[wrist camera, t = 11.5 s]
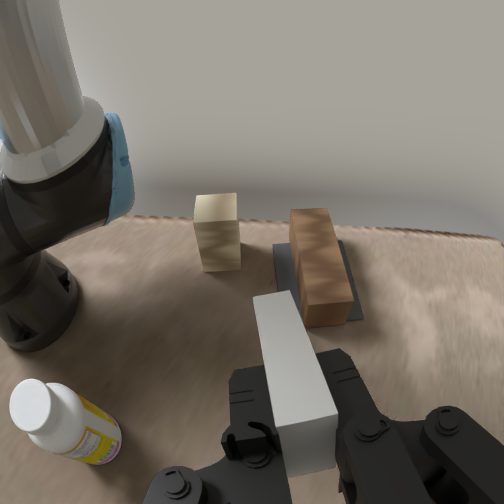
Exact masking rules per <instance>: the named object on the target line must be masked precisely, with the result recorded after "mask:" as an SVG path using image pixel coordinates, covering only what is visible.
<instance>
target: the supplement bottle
mask: <svg viewBox="0 0 504 504" xmlns="http://www.w3.org/2000/svg"><path fill="white" fill-rule="evenodd" d="M10 414H11V417H12V419H13V421H14V423H15V424H16V425H17V427H19V428H20V429H21V430H23V431H25V432H27V433H28V435H29V437H30V438H31V440H32V441H33V442H34V443H35V444H36V445H37V446H39V447H40V448H42V449H44V450H46V451H48V452H51V453H54V454H58V455H61V456H64V457H67V458H71V459H74V460H78V461H81V462H85V463H89V464H95V465H99V464H105V463H107V462H109V461H111V460H112V459H113V458H114V457H115V456H116V455H117V454H118V452H119V450H120V447H121V442H122V436H121V431H120V428H119V426H118V424H117V422H116V421H115V420H114V418H113V417H112V416H111V415H109V414H108V413H106V412H105V411H103V410H102V409H100V408H98V407H97V406H95V405H94V404H92V403H90V402H89V401H87V400H86V399H84V398H83V397H81V396H80V395H78V394H77V393H75V392H74V391H72V390H71V389H69V388H68V387H66V386H64V385H62V384H59V383H46V384H44V383H43V382H41V381H39V380H37V379H27V380H24V381H22V382H21V383H19V384H18V385H17V386H16V388H15V389H14V391H13V393H12V395H11V399H10Z"/></svg>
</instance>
